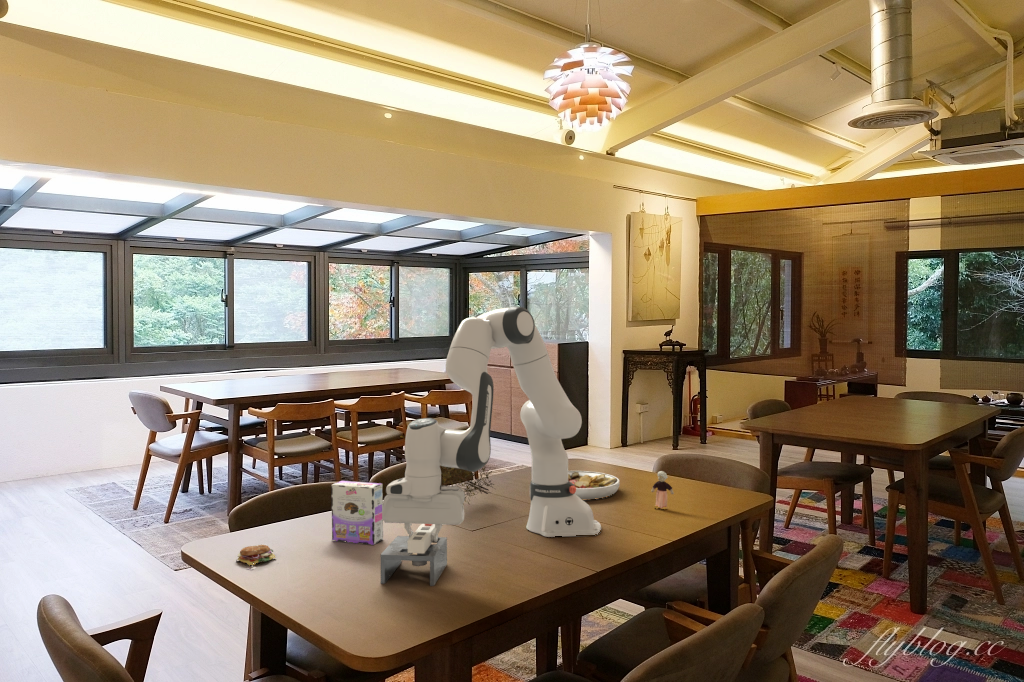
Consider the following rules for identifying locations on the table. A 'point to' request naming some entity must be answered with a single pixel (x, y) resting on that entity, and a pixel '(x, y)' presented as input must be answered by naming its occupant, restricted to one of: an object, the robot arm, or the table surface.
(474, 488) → the dried plant
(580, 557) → the table surface
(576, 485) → the bowl
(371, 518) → the candy box
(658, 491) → the grandmother figurine
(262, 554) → the hamburger
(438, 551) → the grey stepped cutout plate
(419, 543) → the power strip
